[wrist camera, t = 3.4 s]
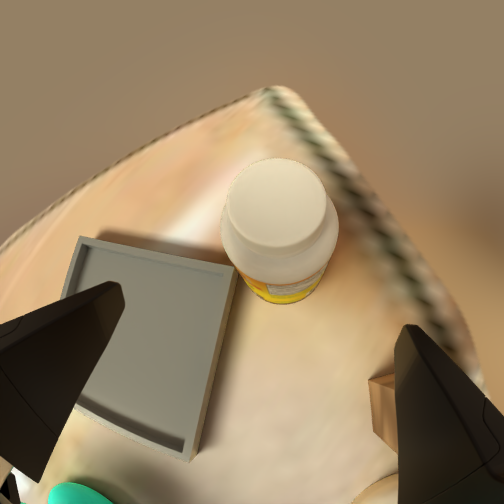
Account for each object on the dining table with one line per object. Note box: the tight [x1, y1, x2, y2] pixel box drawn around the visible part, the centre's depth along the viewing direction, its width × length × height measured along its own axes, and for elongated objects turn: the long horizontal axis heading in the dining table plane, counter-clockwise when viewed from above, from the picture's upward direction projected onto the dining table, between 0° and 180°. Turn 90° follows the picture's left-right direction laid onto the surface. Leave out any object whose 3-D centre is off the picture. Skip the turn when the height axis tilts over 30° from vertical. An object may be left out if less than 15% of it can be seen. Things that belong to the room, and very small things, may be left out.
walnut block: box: [368, 368, 461, 454], centre depth 14 cm, size 4×4×6 cm
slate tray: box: [60, 236, 239, 463], centre depth 19 cm, size 14×14×2 cm
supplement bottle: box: [220, 158, 339, 305], centre depth 16 cm, size 6×6×10 cm
